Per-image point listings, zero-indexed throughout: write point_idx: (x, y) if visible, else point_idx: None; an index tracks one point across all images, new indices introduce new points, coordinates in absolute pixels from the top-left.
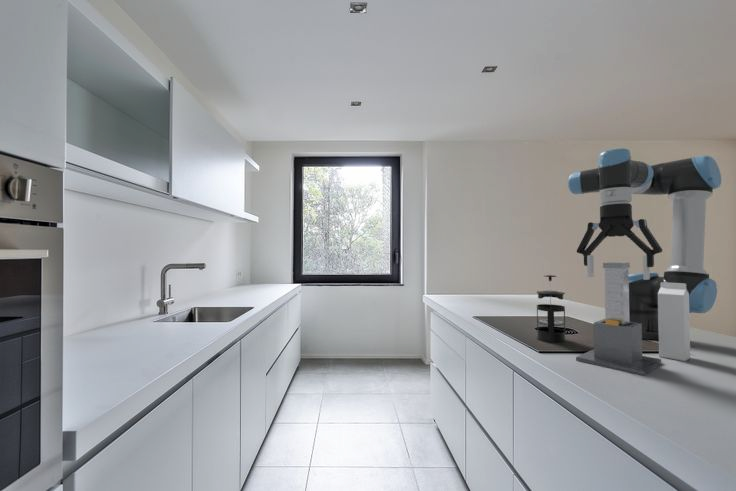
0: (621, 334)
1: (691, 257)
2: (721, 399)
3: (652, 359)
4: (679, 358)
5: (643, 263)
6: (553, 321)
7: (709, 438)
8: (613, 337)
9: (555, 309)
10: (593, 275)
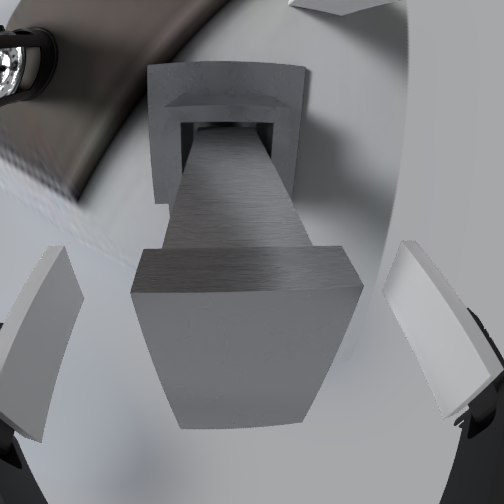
0: None
1: None
2: (380, 235)
3: (289, 83)
4: (332, 12)
5: (424, 370)
6: (8, 97)
7: (348, 337)
8: None
9: None
10: (62, 257)
